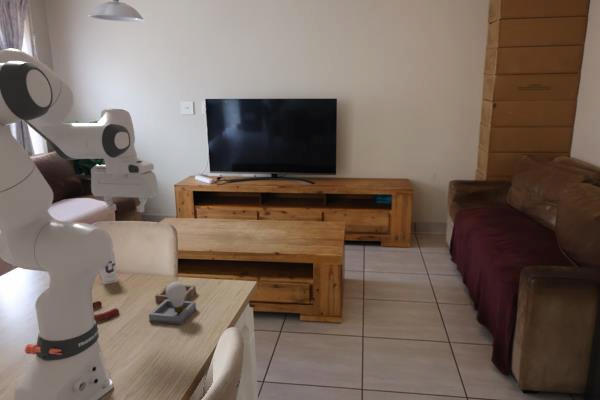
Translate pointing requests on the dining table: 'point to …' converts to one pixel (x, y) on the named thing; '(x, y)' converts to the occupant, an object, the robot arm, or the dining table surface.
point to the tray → (171, 313)
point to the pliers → (105, 315)
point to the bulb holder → (162, 296)
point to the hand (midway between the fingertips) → (126, 211)
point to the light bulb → (176, 295)
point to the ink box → (109, 272)
